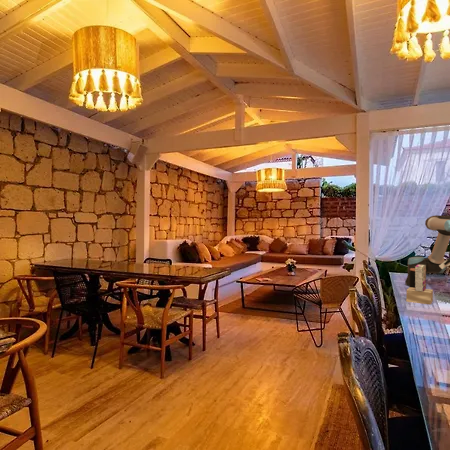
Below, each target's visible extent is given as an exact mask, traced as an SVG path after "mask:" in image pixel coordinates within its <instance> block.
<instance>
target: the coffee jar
mask: <svg viewBox="0 0 450 450" xmlns="http://www.w3.org/2000/svg"><path fill="white" fill-rule="evenodd" d="M409 287H413V288H415V268H411V269H410V281H409V286H408V288H409Z"/></svg>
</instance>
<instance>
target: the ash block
mask: <svg viewBox="0 0 450 450" xmlns="http://www.w3.org/2000/svg"><path fill="white" fill-rule="evenodd" d="M433 294H434V289H430V288H426V289H425V290H424V291H423V292H420V291H415V288H413V287H409V286H408V288H407V289H406V296H405V297H406V303H407V302H408V303H413V304H414V303H415V304H421V305H422V304H423V305H430V306H431V305H432V303H433V301H434V295H433Z"/></svg>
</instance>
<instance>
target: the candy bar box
mask: <svg viewBox="0 0 450 450" xmlns="http://www.w3.org/2000/svg"><path fill="white" fill-rule="evenodd" d="M425 289H427V273H426V265H417V266H415V291H420V292H423V291H424V290H425Z"/></svg>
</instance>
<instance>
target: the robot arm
mask: <svg viewBox="0 0 450 450" xmlns="http://www.w3.org/2000/svg"><path fill="white" fill-rule="evenodd" d="M424 225H425V227H426V228H427V229H428V230H430V231H433V232H434V231H435V232H437V236H436V239H435V242H434V244H433V245H434V246H433V248H432V250H431V253H430V254H429V255H428V257H427V258H425V257H423V256H412V257H409V258H408V259H407V276H406V279H405V283H404V285H405V286H408V287H409V281H410V269H411V268H415V266H417V265H426V274H442V273H444V272H445V271H446V269H447V267H449V266H450V257H449V258H448V257H447V258H446V260H445V258H444V257H445V255H446V252H447V248H448V246H449V243H450V215H437V214H436V215H432V216H429V217H427V218H426V220H425V221H424Z"/></svg>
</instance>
